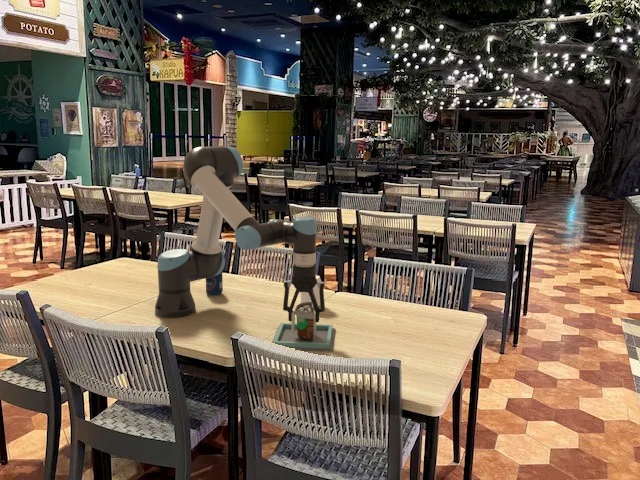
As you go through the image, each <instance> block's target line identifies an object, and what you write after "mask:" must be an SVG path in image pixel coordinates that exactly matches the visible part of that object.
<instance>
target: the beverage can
mask: <svg viewBox="0 0 640 480" xmlns="http://www.w3.org/2000/svg"><path fill="white" fill-rule="evenodd" d="M316 279H317V281H319V282H322V279H321V277H320V275H317V274H316ZM313 291H314V295H315V298H316V301H317V303H318V306H319V307H321V306H320V294H319V288H318V285H315V286H314V288H313ZM304 302H312V301H311V298H310V295H309V293H308V292H300V303H304ZM312 309H314V307H313V304H312Z"/></svg>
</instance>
